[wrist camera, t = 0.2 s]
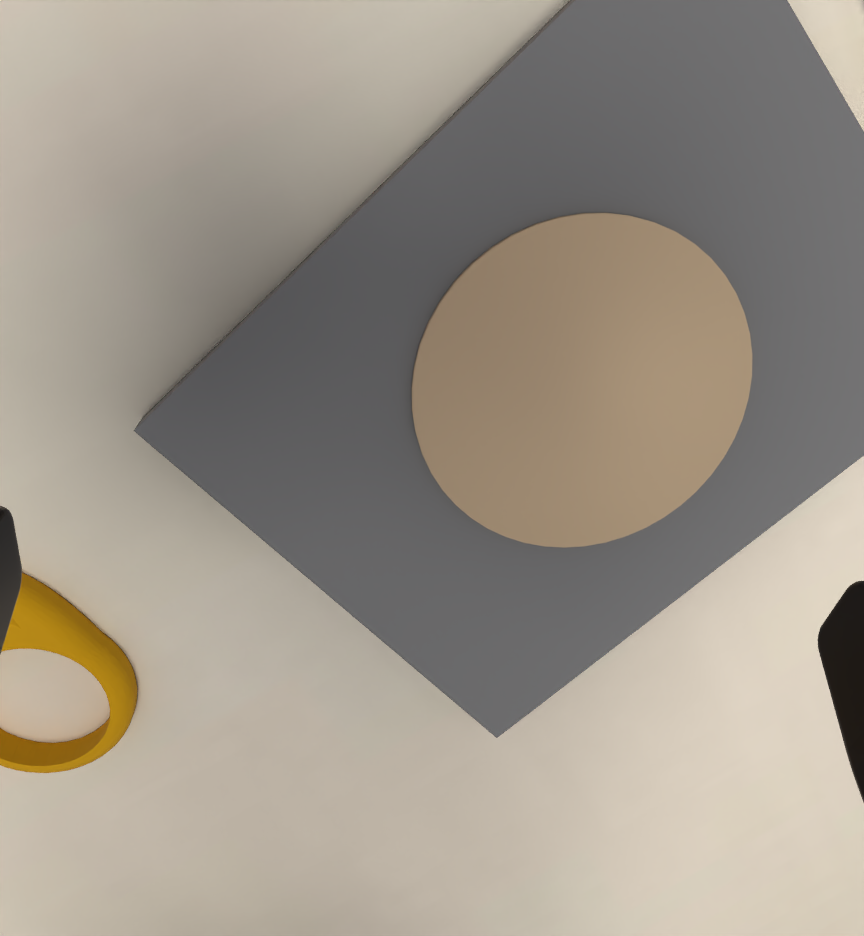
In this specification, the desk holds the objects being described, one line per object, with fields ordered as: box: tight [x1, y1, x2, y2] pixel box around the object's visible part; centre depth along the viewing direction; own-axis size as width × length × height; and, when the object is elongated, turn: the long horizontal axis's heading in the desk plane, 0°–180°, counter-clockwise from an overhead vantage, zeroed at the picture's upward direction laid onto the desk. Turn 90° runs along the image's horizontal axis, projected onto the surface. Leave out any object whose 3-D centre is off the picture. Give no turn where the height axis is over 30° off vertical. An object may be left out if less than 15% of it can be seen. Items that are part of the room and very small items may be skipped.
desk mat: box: [134, 0, 864, 738], centre depth 24 cm, size 20×16×1 cm
